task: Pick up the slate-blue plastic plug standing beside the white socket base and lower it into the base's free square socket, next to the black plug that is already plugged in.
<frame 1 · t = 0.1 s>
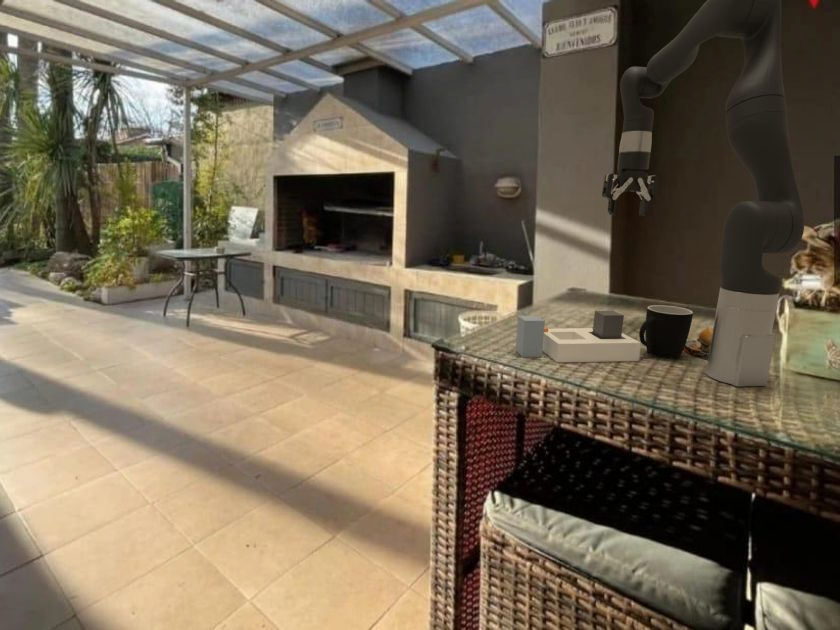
hand: (627, 215, 132), 29 cm above the table, fingers open, 8 cm apart
white socket base: (585, 352, 109), on the table
mug: (658, 355, 109), on the table
plug: (528, 354, 107), on the table
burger: (711, 355, 111), on the table
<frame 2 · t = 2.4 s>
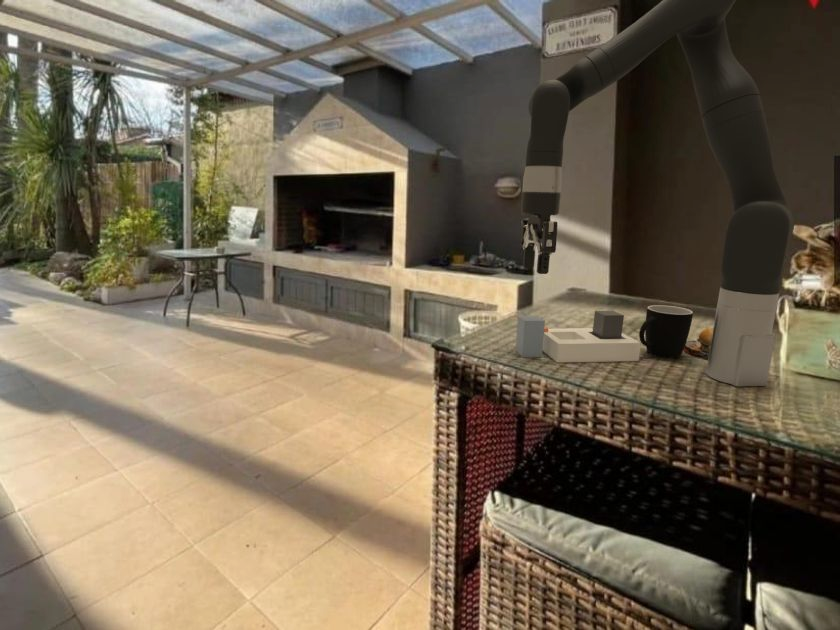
hand: (534, 270, 103), 18 cm above the table, fingers open, 8 cm apart
nothing on the table moved.
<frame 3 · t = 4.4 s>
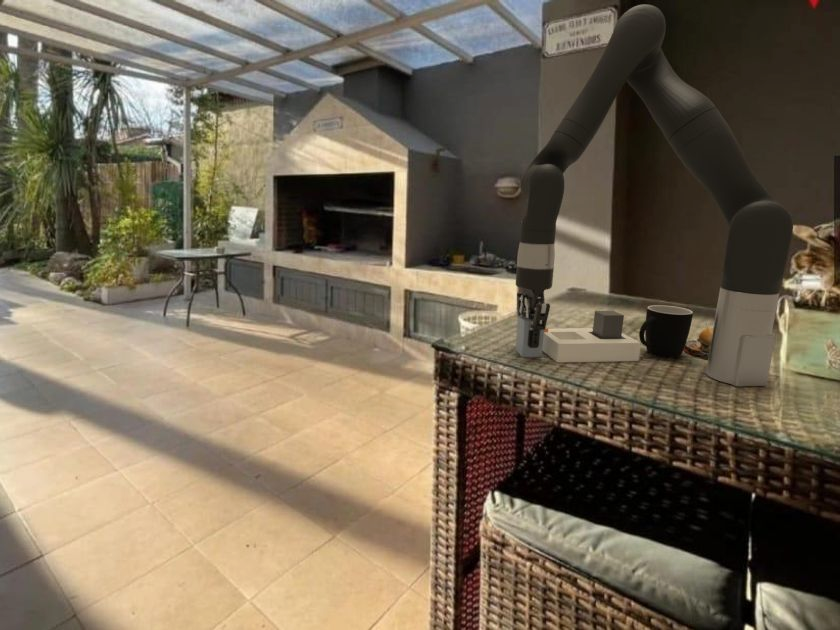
hand: (529, 343, 107), 2 cm above the table, fingers closed on plug, 4 cm apart
plug: (528, 353, 107), on the table, touching gripper
everything else where it was.
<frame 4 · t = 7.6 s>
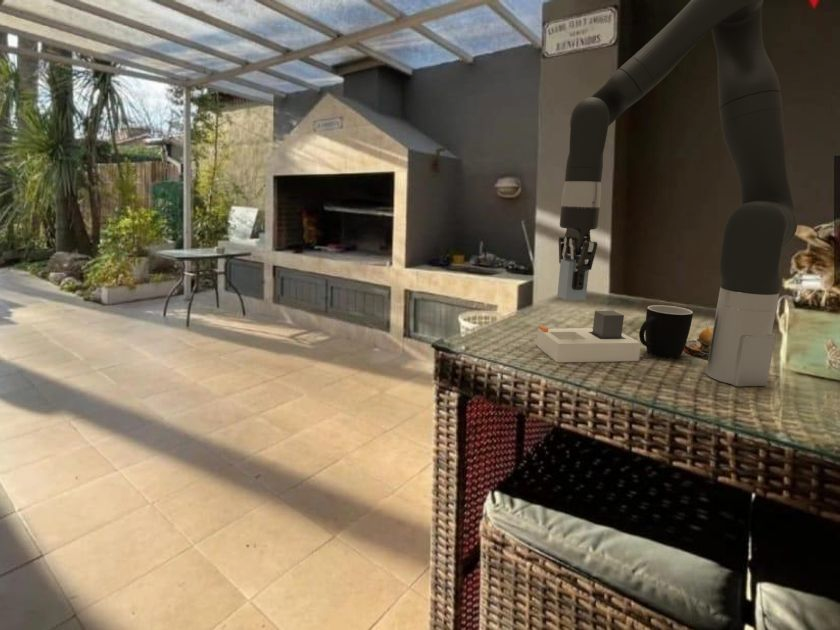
hand: (572, 287, 105), 15 cm above the table, fingers closed on plug, 4 cm apart
plug: (571, 297, 106), point 12 cm above the table, touching gripper
everything else where it was.
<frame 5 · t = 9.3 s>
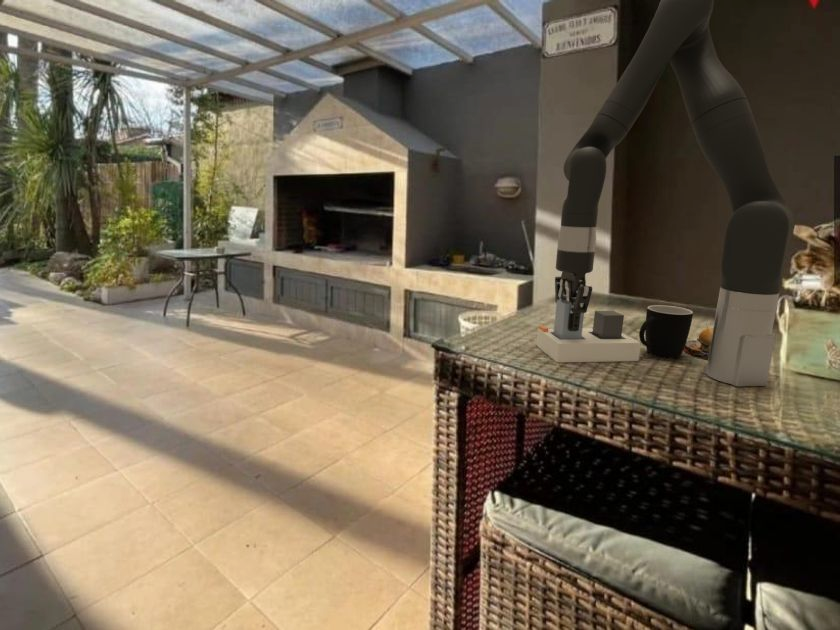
hand: (568, 327, 107), 6 cm above the table, fingers closed on plug, 4 cm apart
plug: (567, 337, 108), point 3 cm above the table, touching gripper
everything else where it was.
when the fingers open (5 cm above the table, at t = 10.7 s): plug drops 2 cm, resting on white socket base.
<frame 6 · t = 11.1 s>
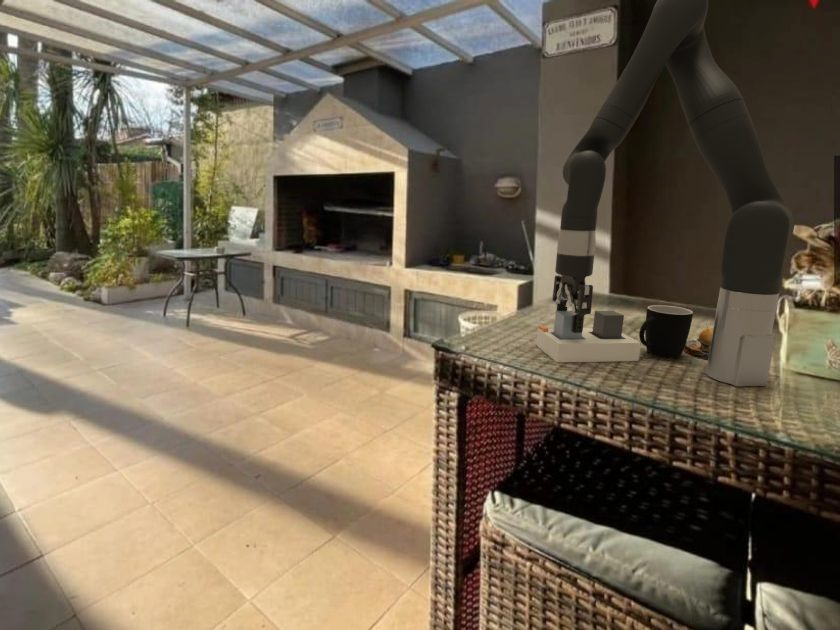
hand: (568, 327, 107), 6 cm above the table, fingers open, 8 cm apart
plug: (566, 348, 108), point 1 cm above the table, touching white socket base
everything else where it was.
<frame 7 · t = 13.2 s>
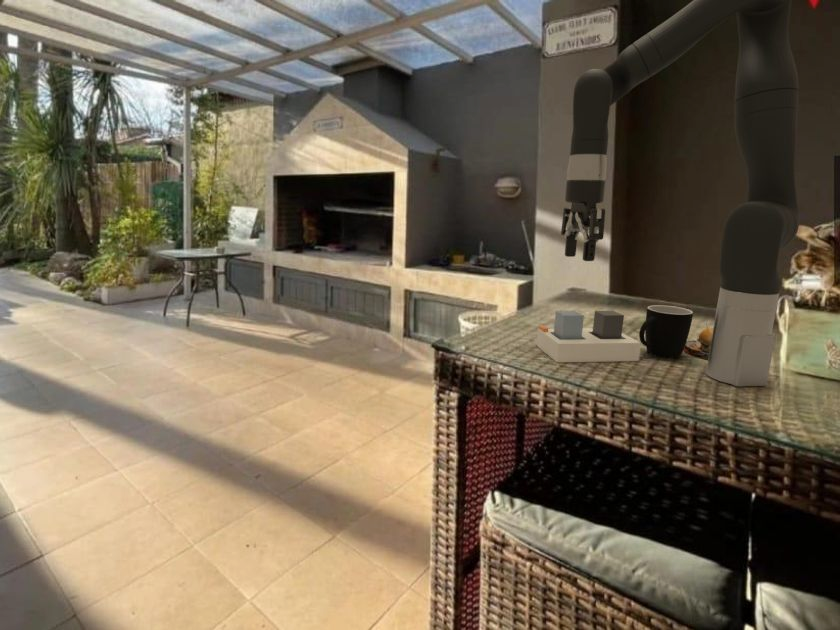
hand: (578, 258, 104), 21 cm above the table, fingers open, 8 cm apart
nothing on the table moved.
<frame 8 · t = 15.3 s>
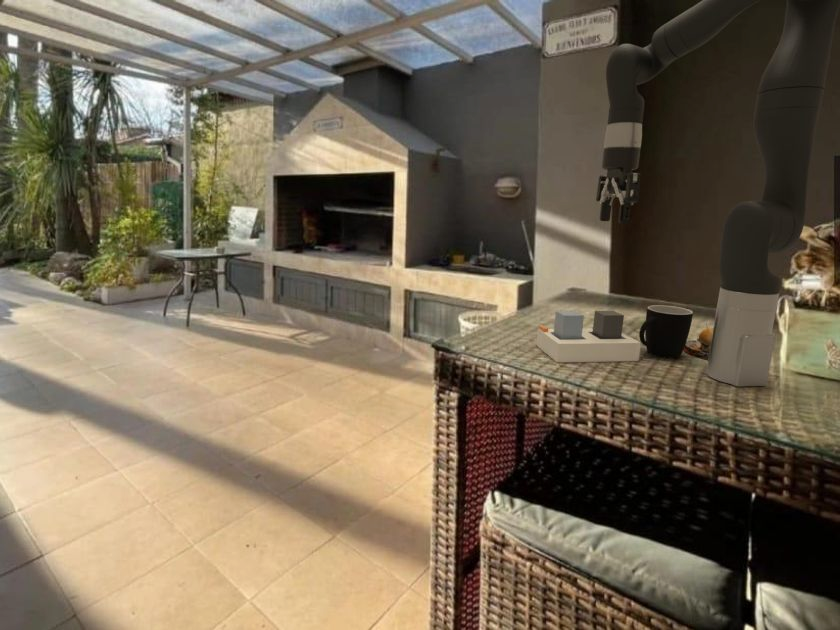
hand: (613, 221, 112), 28 cm above the table, fingers open, 8 cm apart
nothing on the table moved.
at the end: plug 0.1 cm from the target spot on the white socket base, point 1.0 cm above the white socket base's base; plug tilted 0°; the gripper is holding nothing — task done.
